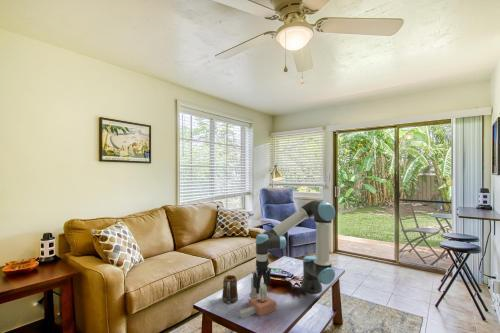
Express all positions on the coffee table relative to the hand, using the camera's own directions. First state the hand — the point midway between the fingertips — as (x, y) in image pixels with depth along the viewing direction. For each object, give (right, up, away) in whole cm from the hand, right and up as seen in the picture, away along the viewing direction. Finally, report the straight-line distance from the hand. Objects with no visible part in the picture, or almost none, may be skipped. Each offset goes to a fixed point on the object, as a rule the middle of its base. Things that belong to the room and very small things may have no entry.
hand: (261, 297), depth 160 cm
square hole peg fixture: (-6, -7, -1) cm, 9 cm away
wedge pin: (0, -7, 0) cm, 7 cm away
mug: (-21, -7, +8) cm, 24 cm away
